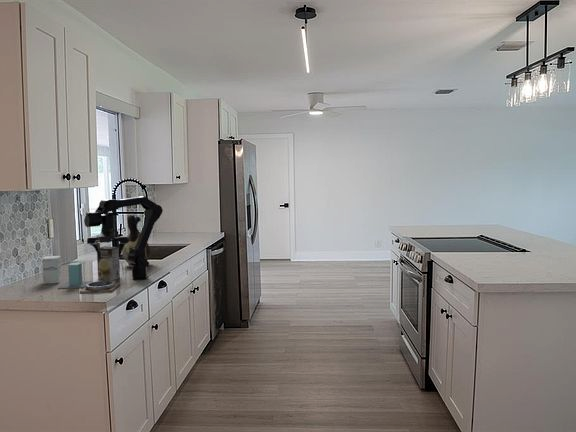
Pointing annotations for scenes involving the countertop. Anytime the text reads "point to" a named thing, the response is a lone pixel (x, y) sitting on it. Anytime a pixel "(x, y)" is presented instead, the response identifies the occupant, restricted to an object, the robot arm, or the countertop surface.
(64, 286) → the charcoal mat
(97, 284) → the metal ring
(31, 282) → the countertop surface
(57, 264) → the supplement box
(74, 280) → the teal post
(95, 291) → the walnut stand
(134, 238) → the ceramic jug
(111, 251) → the coffee box
